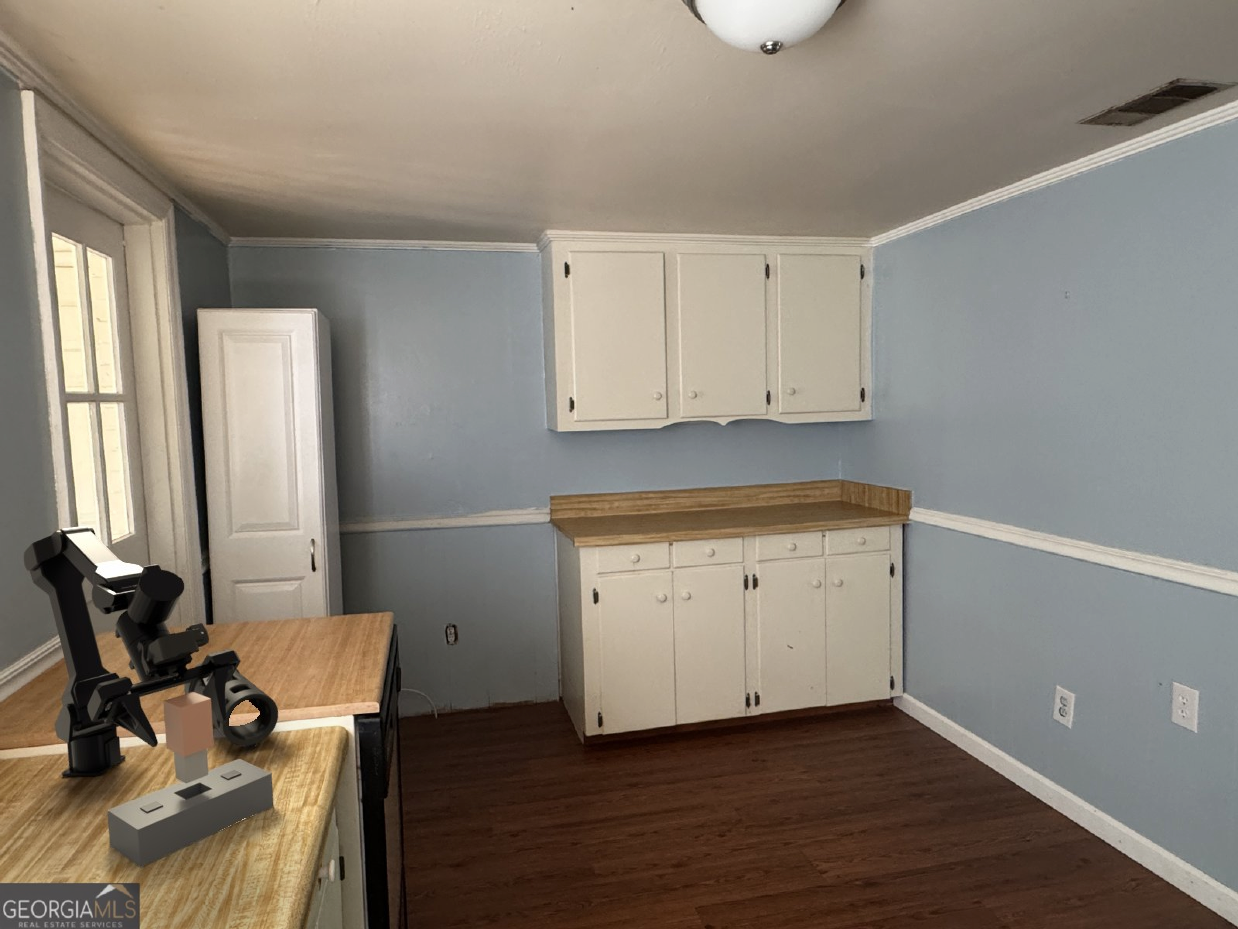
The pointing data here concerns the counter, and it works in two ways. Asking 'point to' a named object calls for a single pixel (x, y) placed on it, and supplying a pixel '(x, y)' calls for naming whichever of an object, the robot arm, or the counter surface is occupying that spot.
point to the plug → (189, 734)
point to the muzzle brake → (234, 695)
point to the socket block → (188, 811)
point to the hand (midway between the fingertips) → (191, 733)
